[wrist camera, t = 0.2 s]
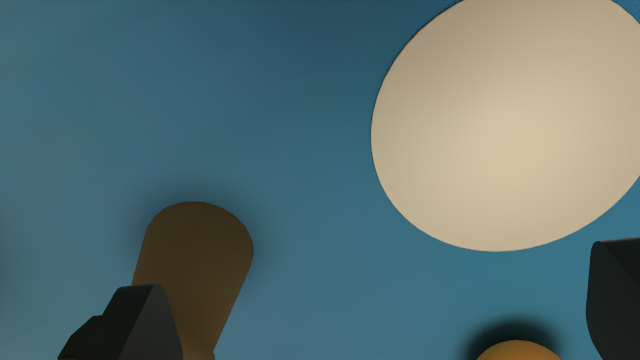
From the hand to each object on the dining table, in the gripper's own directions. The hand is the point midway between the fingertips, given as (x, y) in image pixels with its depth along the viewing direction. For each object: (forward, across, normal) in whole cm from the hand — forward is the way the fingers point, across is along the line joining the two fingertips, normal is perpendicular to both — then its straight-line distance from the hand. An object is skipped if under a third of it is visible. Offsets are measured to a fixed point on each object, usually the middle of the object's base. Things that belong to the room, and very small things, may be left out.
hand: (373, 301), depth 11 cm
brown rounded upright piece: (+18, +9, +9) cm, 22 cm away
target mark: (+18, -8, +4) cm, 20 cm away
